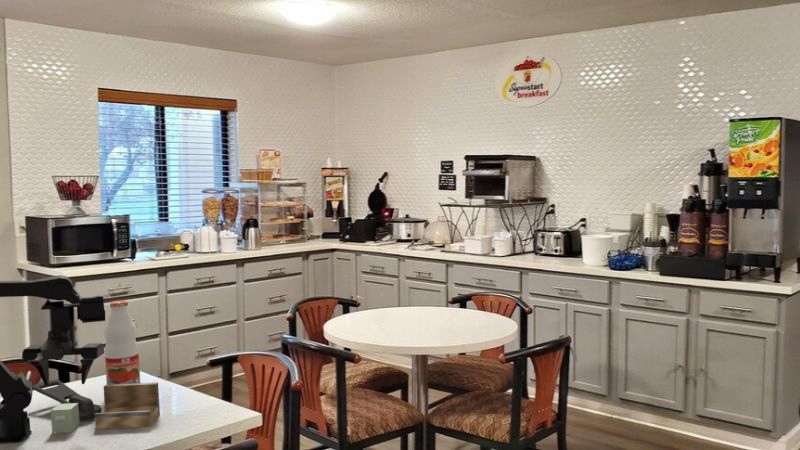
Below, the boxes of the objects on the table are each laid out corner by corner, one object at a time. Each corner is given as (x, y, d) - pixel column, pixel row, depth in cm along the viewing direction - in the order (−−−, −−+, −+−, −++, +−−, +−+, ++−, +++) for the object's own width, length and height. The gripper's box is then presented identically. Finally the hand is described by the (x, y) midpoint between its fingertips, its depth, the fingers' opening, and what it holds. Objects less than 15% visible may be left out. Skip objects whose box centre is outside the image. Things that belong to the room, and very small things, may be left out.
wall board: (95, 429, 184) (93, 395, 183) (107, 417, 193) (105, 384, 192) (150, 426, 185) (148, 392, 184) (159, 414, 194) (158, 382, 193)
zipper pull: (58, 377, 209) (105, 391, 194) (60, 399, 210) (107, 415, 195) (27, 385, 202) (74, 400, 187) (29, 408, 203) (75, 425, 188)
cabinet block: (50, 434, 182) (49, 411, 181) (60, 426, 187) (58, 403, 187) (70, 433, 182) (69, 410, 181) (79, 425, 188) (78, 403, 187)
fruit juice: (138, 387, 220) (133, 297, 217) (143, 395, 211) (137, 302, 209) (105, 392, 215) (100, 301, 213) (109, 401, 207) (103, 306, 205)
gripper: (9, 332, 174) (13, 395, 175) (88, 330, 175) (90, 392, 176) (30, 323, 185) (33, 382, 186) (103, 321, 186) (106, 379, 187)
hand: (65, 384), depth 184 cm, fingers open, 9 cm apart
